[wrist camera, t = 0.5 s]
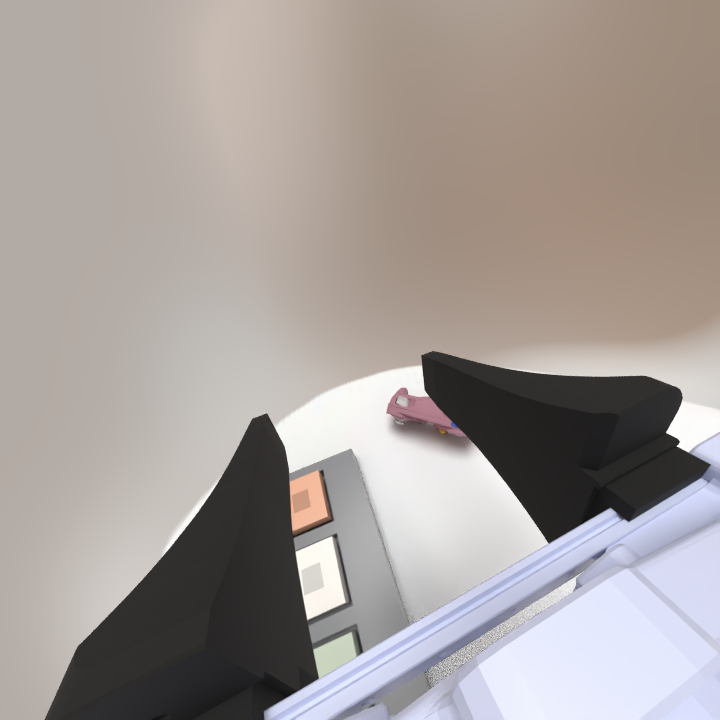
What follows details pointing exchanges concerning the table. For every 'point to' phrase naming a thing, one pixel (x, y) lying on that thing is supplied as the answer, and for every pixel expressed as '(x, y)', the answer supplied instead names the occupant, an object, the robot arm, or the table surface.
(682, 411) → the table surface
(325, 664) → the sage key
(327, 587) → the white key
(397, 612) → the keypad
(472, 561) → the table surface
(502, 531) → the table surface
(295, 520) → the terracotta key
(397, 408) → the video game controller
